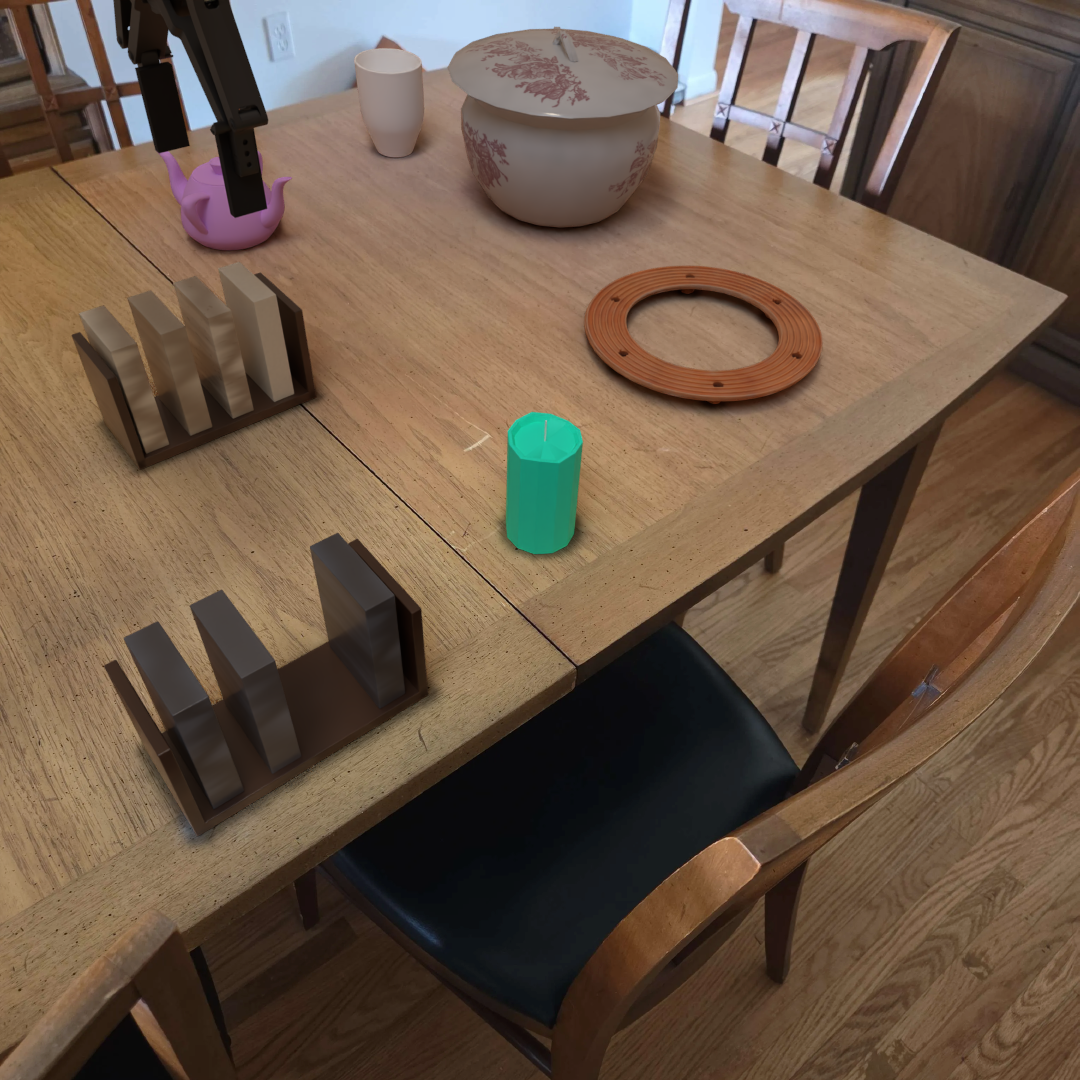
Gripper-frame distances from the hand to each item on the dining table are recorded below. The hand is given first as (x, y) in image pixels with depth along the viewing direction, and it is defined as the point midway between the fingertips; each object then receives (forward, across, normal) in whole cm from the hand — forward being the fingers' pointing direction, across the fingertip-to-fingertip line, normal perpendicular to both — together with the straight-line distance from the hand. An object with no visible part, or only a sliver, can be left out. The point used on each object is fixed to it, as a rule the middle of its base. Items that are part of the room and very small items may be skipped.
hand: (209, 178), depth 75 cm
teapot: (+22, +32, -14) cm, 41 cm away
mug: (+22, +41, -44) cm, 64 cm away
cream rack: (+22, +1, +4) cm, 23 cm away
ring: (+22, -19, -43) cm, 52 cm away
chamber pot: (+22, +15, -51) cm, 58 cm away
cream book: (+21, +1, -2) cm, 22 cm away
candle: (+23, -30, -11) cm, 39 cm away
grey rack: (+23, -34, +15) cm, 44 cm away
